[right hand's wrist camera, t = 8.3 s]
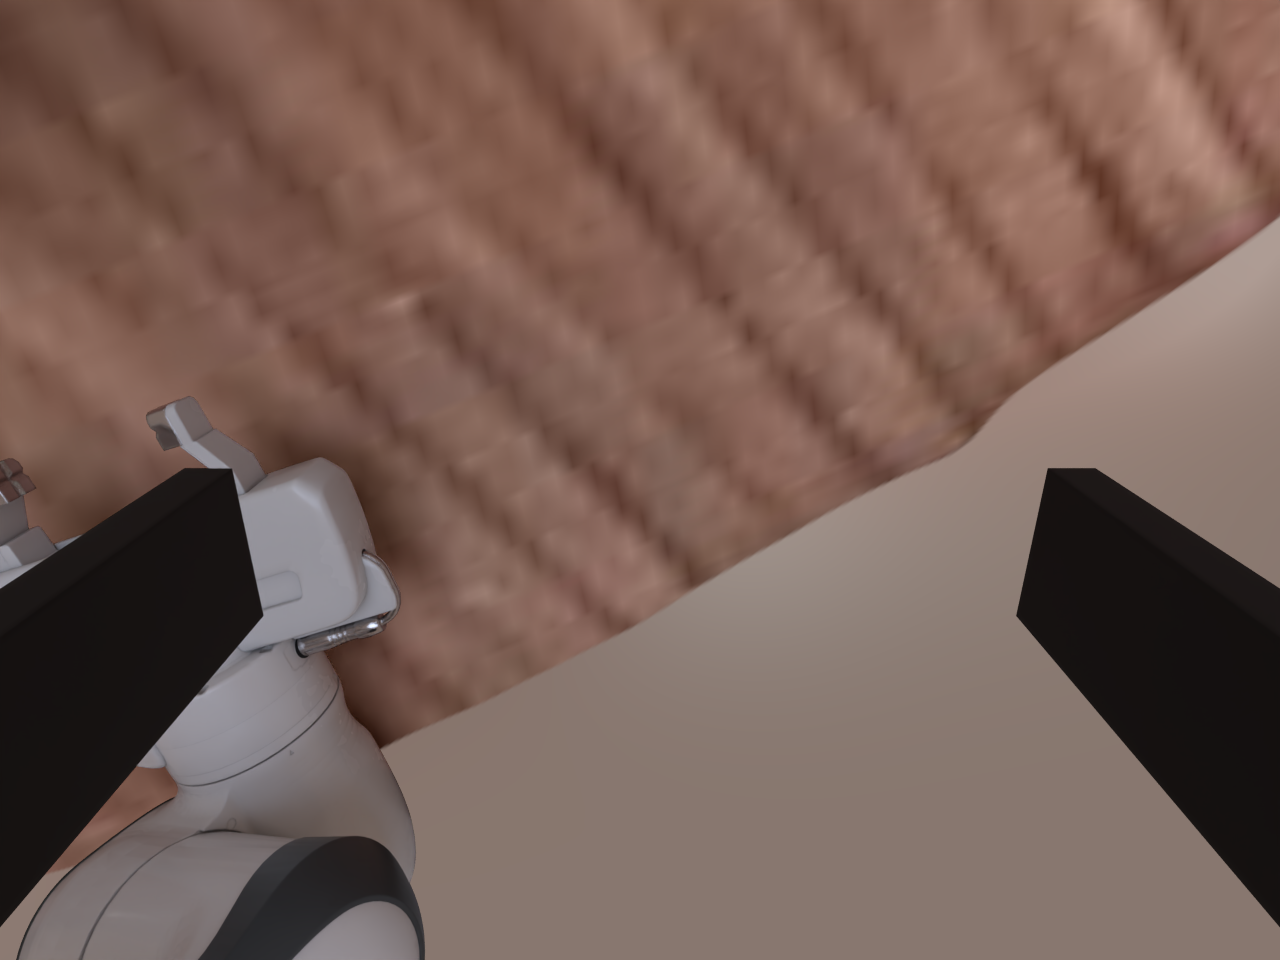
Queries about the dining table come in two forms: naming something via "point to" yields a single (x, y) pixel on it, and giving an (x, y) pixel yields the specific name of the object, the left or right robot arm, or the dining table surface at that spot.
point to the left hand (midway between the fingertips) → (75, 435)
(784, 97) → the dining table surface
